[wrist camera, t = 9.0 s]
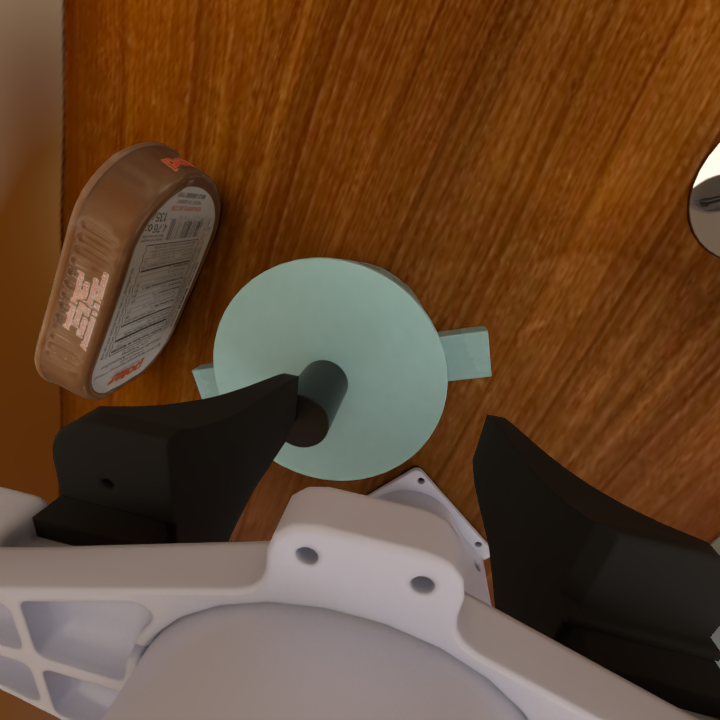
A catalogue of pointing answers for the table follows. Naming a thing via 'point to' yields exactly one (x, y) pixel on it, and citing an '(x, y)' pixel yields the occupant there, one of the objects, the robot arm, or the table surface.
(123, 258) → the tin
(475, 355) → the pot
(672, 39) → the table surface
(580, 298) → the table surface
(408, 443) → the lid
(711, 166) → the wine glass
